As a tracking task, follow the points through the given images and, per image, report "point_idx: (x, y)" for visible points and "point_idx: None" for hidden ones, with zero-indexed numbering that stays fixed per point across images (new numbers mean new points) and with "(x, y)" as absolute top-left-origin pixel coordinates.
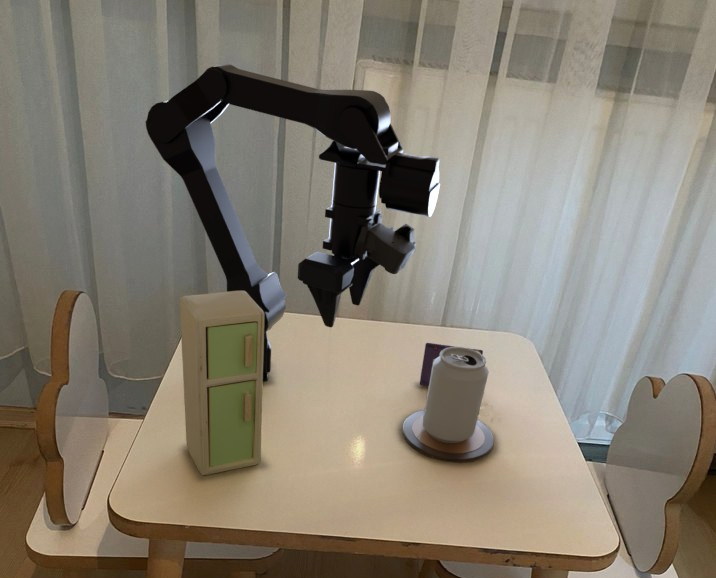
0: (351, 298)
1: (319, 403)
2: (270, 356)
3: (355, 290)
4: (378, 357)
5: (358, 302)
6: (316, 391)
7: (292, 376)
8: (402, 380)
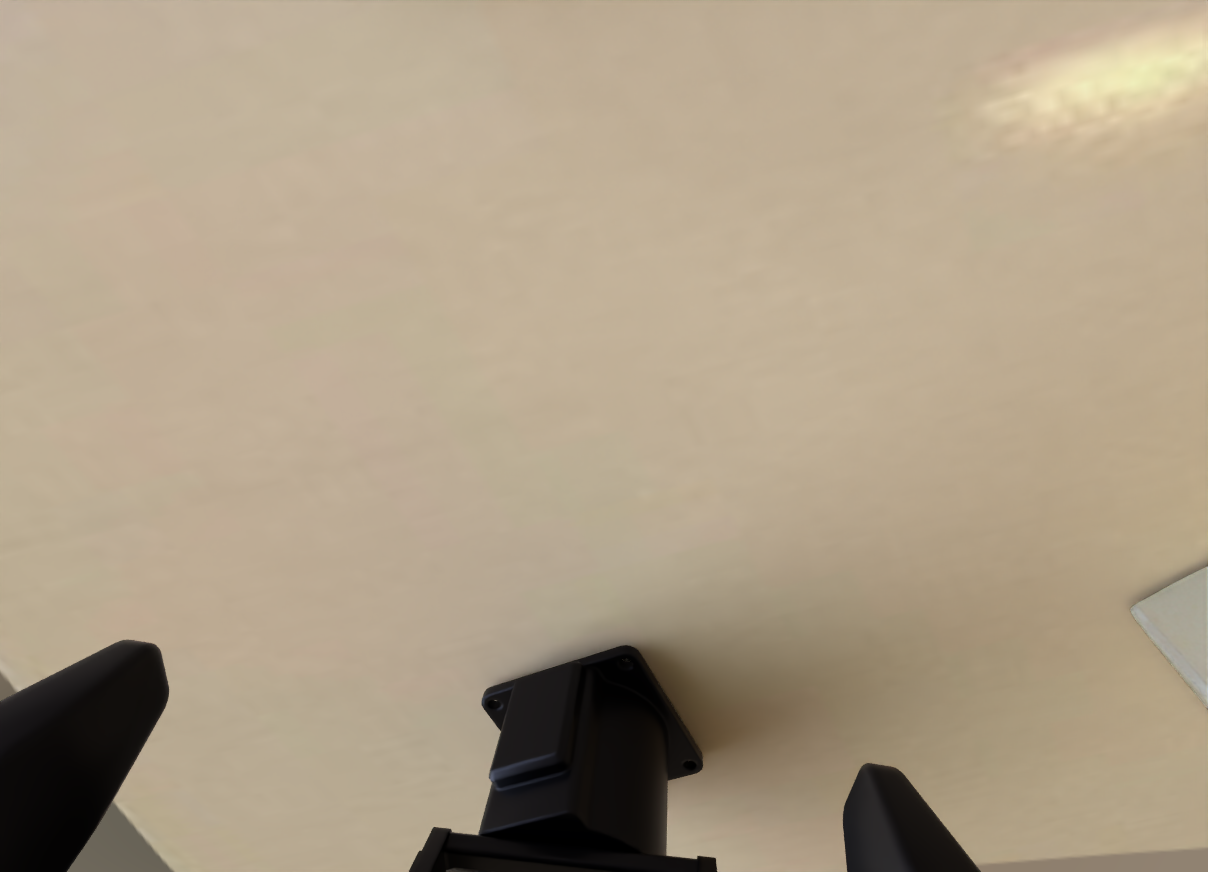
0: (131, 761)
1: (714, 407)
2: (566, 723)
3: (28, 838)
4: (77, 257)
5: (135, 675)
6: (608, 449)
7: (529, 572)
8: (224, 36)
